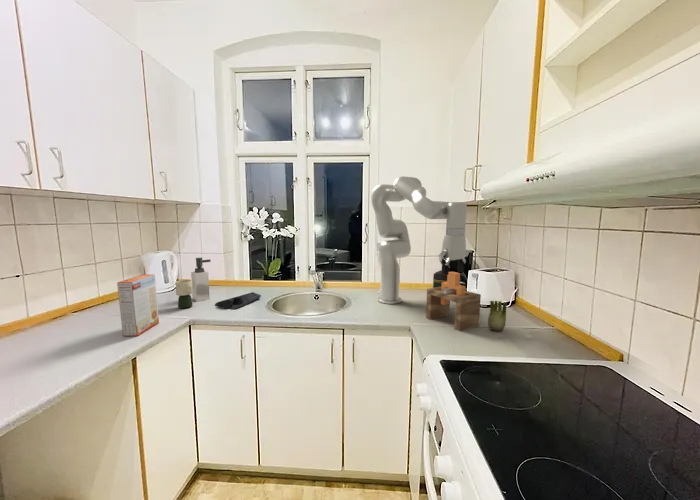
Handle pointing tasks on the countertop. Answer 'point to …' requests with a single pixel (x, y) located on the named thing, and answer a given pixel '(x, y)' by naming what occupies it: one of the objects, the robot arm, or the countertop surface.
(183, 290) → the character mug
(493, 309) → the fennel bulb
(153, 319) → the cracker box
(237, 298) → the dark slate chunk
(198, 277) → the soap dispenser
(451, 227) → the robot arm
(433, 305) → the small wooden table
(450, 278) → the orange stepped arch block
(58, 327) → the countertop surface
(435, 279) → the coffee jar
